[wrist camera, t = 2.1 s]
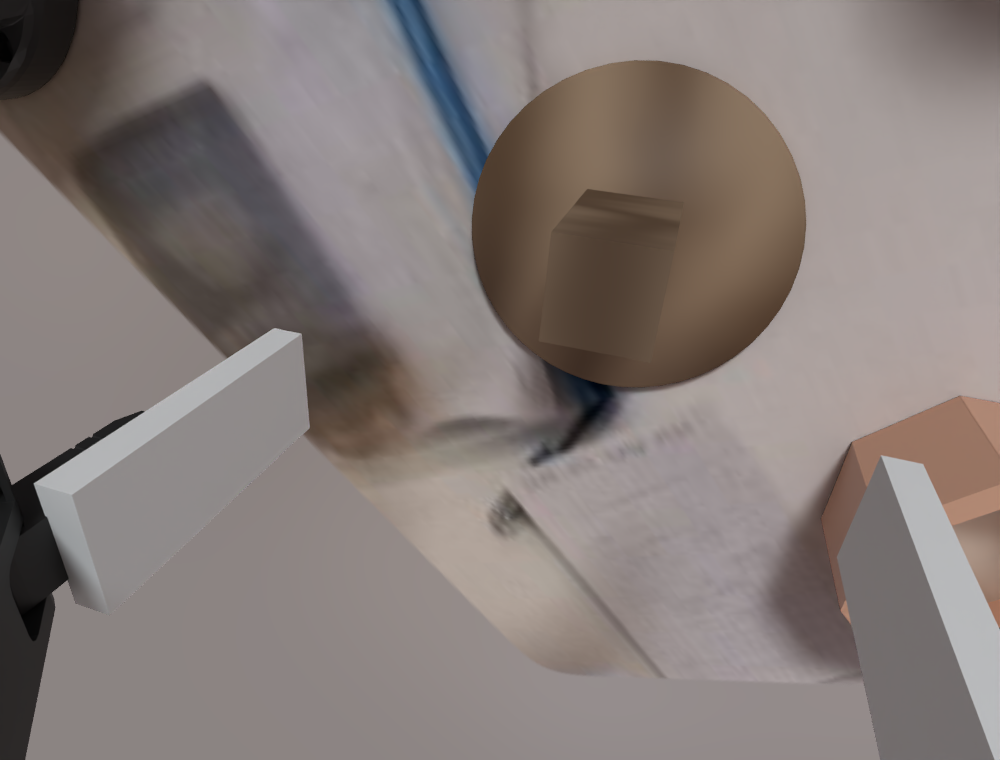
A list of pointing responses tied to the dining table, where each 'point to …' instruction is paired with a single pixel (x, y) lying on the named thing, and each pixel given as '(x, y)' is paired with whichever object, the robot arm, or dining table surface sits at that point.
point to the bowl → (934, 482)
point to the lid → (639, 223)
